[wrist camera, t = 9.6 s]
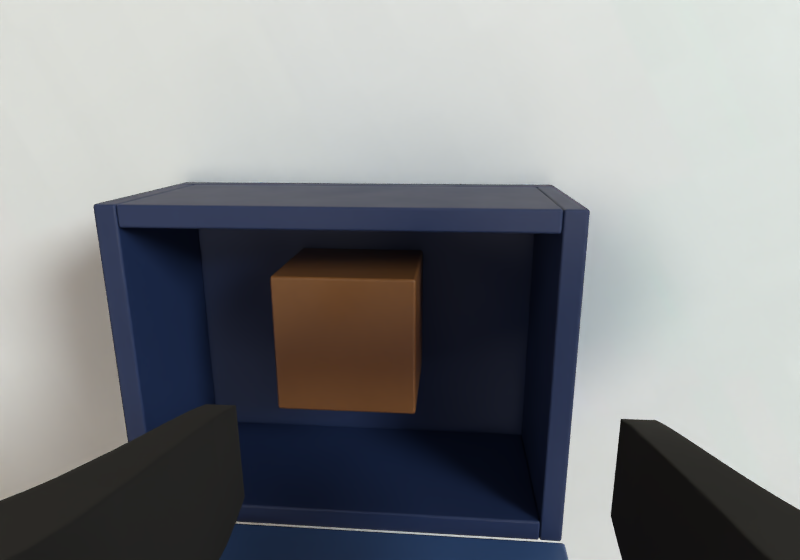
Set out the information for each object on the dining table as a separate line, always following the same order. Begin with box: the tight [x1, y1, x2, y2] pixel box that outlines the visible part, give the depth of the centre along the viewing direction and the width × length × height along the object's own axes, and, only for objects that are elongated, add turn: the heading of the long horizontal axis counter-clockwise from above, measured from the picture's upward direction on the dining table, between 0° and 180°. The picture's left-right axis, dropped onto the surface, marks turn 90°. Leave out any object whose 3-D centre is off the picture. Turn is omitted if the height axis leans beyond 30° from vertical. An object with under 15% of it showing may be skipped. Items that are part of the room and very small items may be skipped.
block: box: [270, 248, 423, 414], centre depth 18 cm, size 4×4×4 cm
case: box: [94, 182, 590, 541], centre depth 18 cm, size 9×12×5 cm
